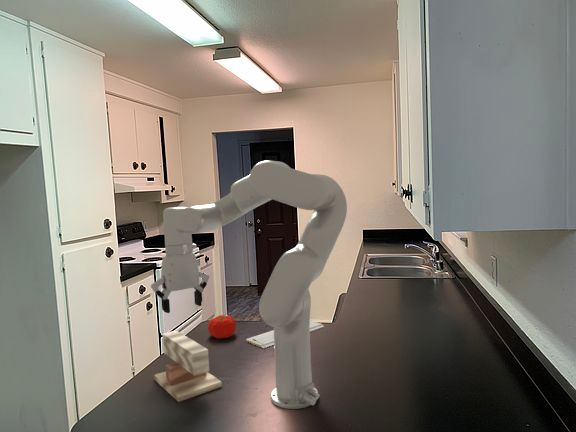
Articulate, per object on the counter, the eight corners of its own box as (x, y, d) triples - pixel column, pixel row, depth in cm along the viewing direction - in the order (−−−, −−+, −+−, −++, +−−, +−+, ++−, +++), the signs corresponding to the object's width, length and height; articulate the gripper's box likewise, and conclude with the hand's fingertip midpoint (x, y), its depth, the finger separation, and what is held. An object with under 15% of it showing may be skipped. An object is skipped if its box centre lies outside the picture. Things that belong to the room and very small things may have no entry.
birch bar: (209, 370, 117) (208, 349, 116) (194, 375, 114) (192, 354, 114) (177, 348, 134) (176, 330, 134) (163, 352, 132) (162, 333, 131)
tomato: (216, 330, 170) (215, 312, 169) (241, 332, 166) (240, 314, 166) (202, 340, 160) (201, 320, 159) (228, 342, 156) (227, 322, 156)
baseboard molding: (327, 329, 168) (306, 322, 177) (327, 321, 168) (305, 316, 177) (266, 351, 147) (245, 343, 156) (265, 343, 147) (245, 335, 156)
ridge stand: (221, 386, 121) (220, 364, 121) (178, 402, 113) (177, 378, 113) (194, 367, 135) (193, 347, 135) (154, 379, 128) (153, 358, 127)
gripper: (200, 245, 130) (204, 300, 131) (144, 252, 120) (148, 312, 121) (212, 247, 124) (215, 305, 125) (154, 255, 114) (158, 318, 115)
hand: (182, 308), depth 123 cm, fingers open, 9 cm apart
